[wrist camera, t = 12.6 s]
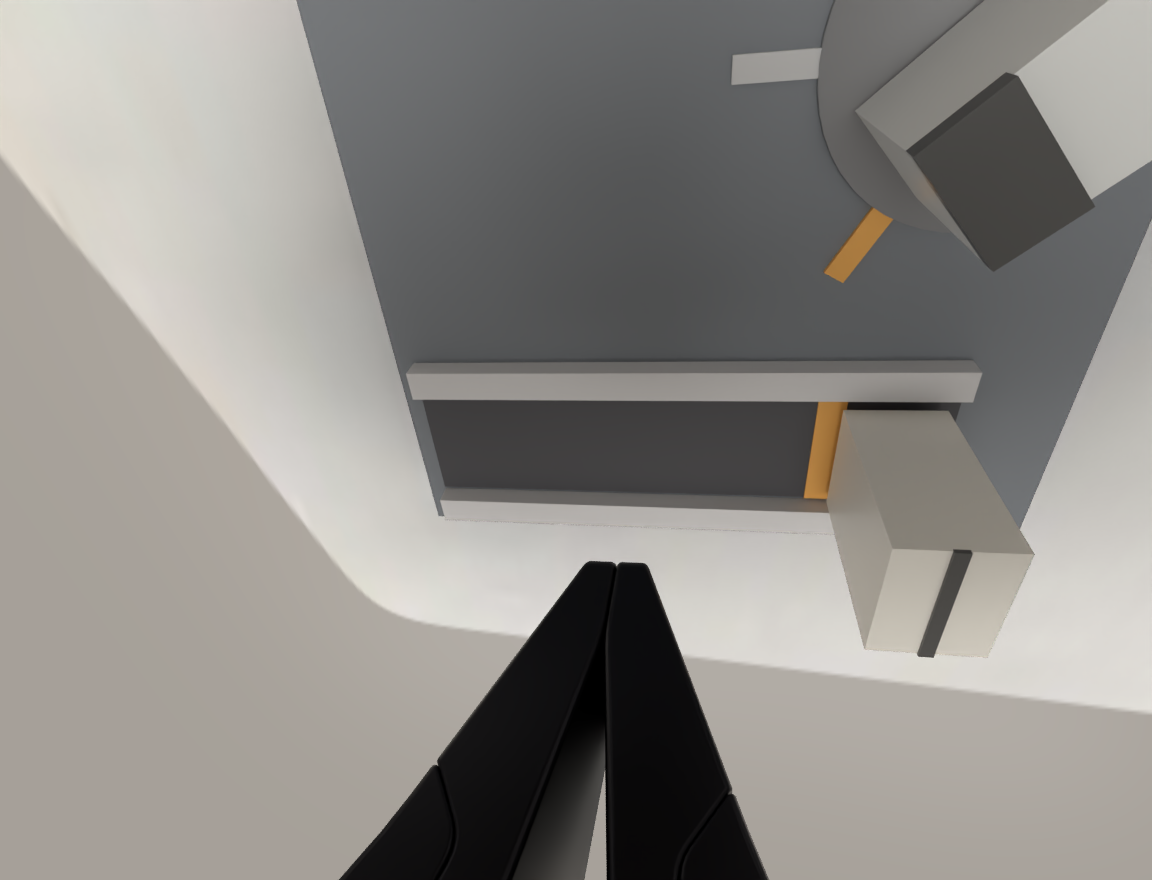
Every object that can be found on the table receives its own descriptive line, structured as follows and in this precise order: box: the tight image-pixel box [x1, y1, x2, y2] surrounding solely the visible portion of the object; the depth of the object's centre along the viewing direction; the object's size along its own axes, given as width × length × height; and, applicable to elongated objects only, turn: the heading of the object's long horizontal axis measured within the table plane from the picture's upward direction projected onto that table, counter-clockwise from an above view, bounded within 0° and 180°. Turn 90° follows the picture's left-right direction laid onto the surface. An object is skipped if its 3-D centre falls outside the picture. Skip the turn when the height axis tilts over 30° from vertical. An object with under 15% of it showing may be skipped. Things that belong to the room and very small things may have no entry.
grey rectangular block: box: [855, 0, 1152, 272], centre depth 10 cm, size 5×2×4 cm, turn 135°
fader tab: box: [826, 410, 1035, 658], centre depth 14 cm, size 2×3×5 cm
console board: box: [297, 0, 1152, 535], centre depth 15 cm, size 17×15×3 cm
